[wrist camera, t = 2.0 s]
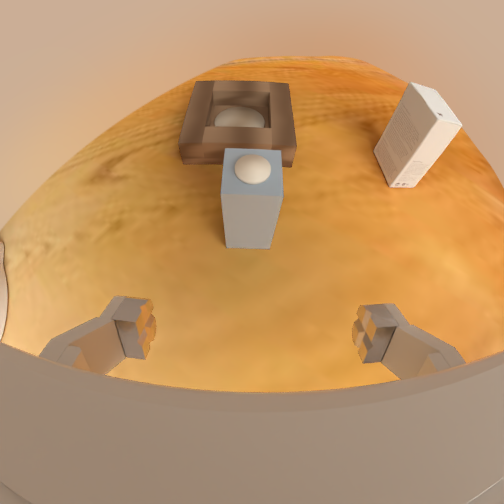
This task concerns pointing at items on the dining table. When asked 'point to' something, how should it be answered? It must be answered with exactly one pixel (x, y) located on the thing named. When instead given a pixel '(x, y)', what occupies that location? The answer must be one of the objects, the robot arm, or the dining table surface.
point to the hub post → (251, 196)
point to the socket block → (237, 120)
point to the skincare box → (415, 136)
